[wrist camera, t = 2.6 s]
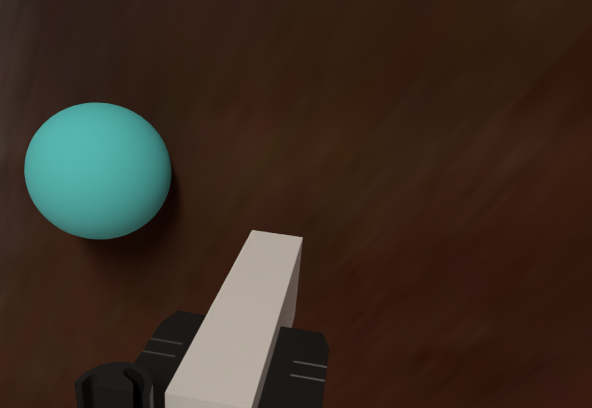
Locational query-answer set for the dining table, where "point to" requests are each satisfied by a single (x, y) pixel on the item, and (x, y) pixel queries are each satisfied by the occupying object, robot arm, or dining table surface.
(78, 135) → the ball
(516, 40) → the dining table surface
